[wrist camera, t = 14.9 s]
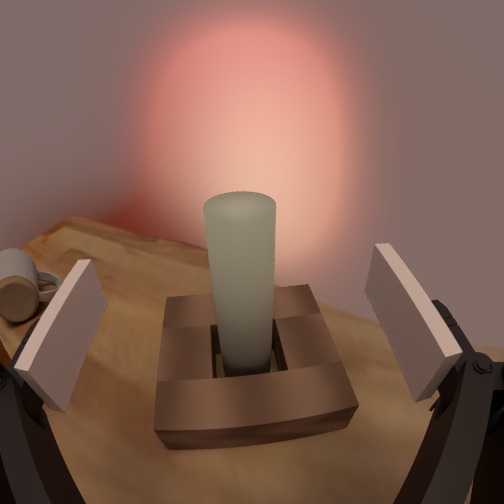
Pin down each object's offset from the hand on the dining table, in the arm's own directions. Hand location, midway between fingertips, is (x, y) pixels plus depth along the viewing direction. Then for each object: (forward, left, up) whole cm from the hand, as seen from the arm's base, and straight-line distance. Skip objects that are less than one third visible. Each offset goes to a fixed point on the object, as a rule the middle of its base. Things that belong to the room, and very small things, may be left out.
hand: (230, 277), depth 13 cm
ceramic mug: (+28, -17, -15) cm, 36 cm away
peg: (-1, -5, -15) cm, 15 cm away
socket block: (-1, -5, -15) cm, 15 cm away
